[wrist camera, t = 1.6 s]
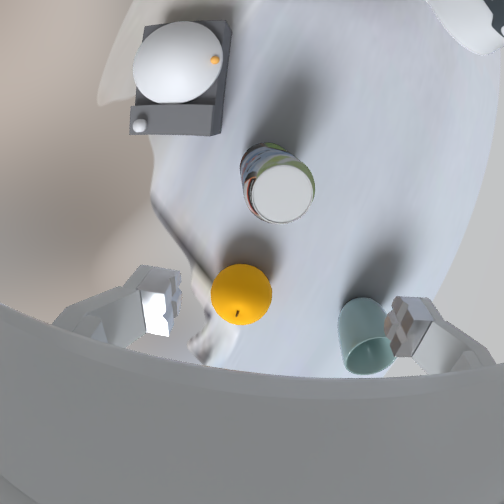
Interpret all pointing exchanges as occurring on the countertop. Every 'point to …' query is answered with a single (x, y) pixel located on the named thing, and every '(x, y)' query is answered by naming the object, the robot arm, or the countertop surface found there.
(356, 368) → the cup
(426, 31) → the countertop surface
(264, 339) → the countertop surface
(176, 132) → the body block
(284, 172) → the beverage can
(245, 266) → the apple
